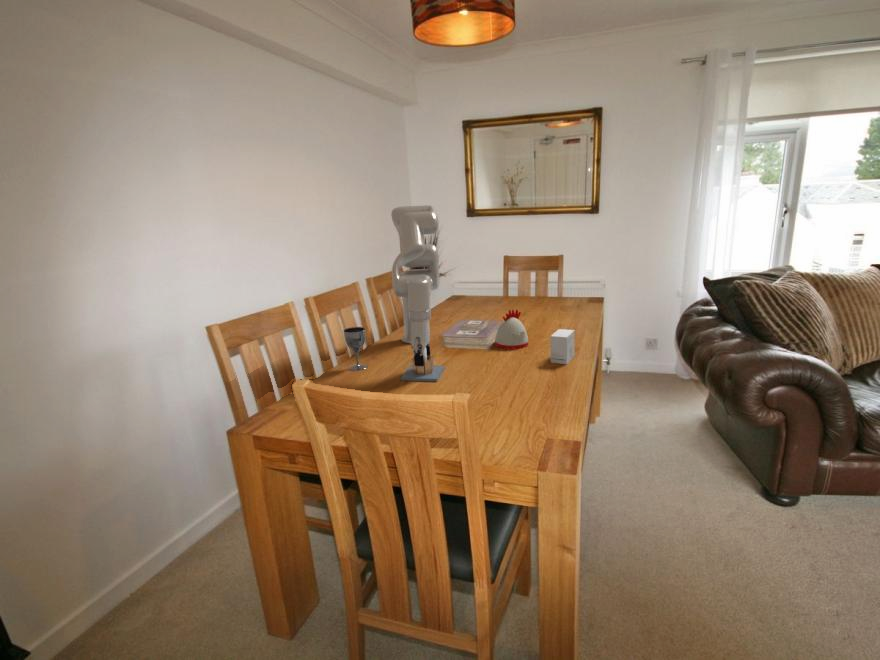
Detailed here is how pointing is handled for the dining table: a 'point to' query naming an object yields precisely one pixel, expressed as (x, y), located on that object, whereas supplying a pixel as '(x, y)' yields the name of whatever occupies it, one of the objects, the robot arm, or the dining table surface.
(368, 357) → the dining table surface
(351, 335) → the wine glass
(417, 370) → the ring
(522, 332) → the kitchen timer
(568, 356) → the skincare box
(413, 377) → the piston stand
